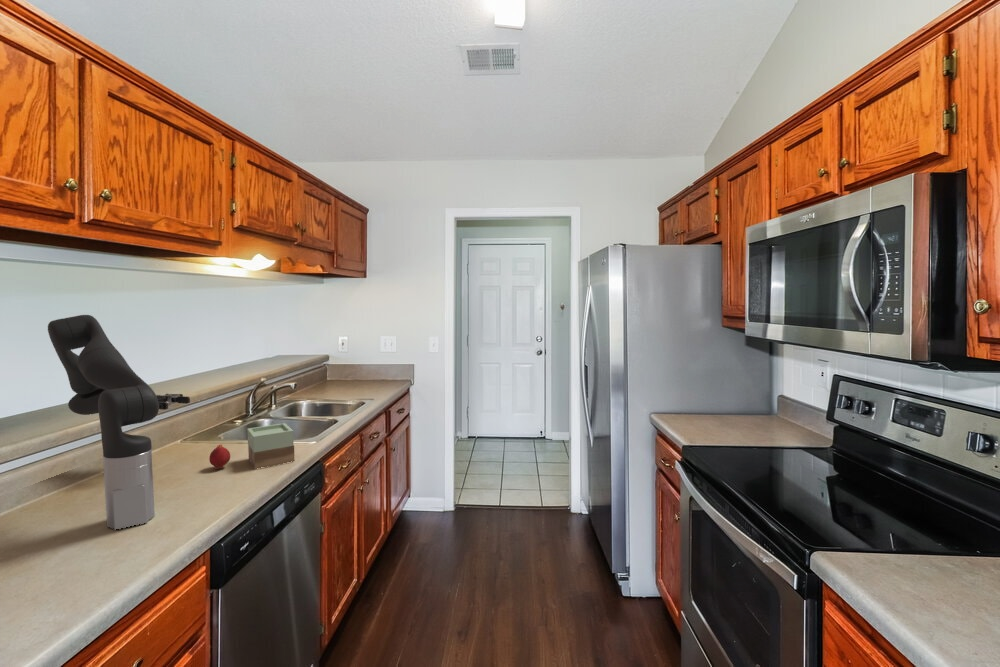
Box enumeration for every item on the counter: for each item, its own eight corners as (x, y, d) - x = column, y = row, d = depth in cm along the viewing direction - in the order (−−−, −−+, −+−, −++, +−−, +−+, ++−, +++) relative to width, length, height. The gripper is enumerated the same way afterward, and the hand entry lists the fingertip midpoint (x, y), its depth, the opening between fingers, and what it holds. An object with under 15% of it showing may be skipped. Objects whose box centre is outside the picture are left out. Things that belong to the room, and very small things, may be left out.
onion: (220, 472, 144) (219, 447, 144) (205, 470, 145) (204, 446, 145) (234, 465, 150) (233, 442, 149) (219, 464, 151) (219, 441, 151)
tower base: (294, 462, 154) (294, 445, 154) (255, 470, 147) (254, 452, 147) (286, 453, 164) (285, 437, 163) (248, 460, 156) (248, 443, 156)
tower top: (293, 445, 154) (293, 430, 153) (254, 452, 146) (253, 436, 146) (285, 437, 163) (285, 423, 163) (247, 443, 156) (247, 428, 156)
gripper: (111, 394, 140) (158, 396, 138) (152, 385, 154) (195, 387, 152) (112, 417, 141) (159, 420, 139) (153, 407, 155) (196, 409, 153)
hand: (178, 403), depth 146 cm, fingers open, 8 cm apart
